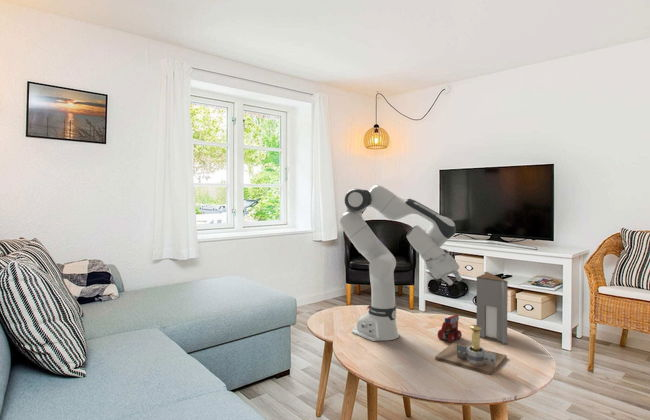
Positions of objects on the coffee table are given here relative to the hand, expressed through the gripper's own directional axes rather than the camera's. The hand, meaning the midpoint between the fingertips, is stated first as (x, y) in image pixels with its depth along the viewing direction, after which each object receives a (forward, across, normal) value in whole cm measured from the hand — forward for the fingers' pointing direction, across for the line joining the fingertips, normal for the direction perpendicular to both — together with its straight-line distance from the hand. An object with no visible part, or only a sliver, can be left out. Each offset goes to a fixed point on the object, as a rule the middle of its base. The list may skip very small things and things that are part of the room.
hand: (456, 282), depth 166 cm
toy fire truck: (+16, +11, +26) cm, 33 cm away
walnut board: (+26, -4, +15) cm, 31 cm away
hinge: (+28, -9, +12) cm, 32 cm away
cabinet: (+24, +25, +18) cm, 39 cm away
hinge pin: (+28, -9, +12) cm, 32 cm away
